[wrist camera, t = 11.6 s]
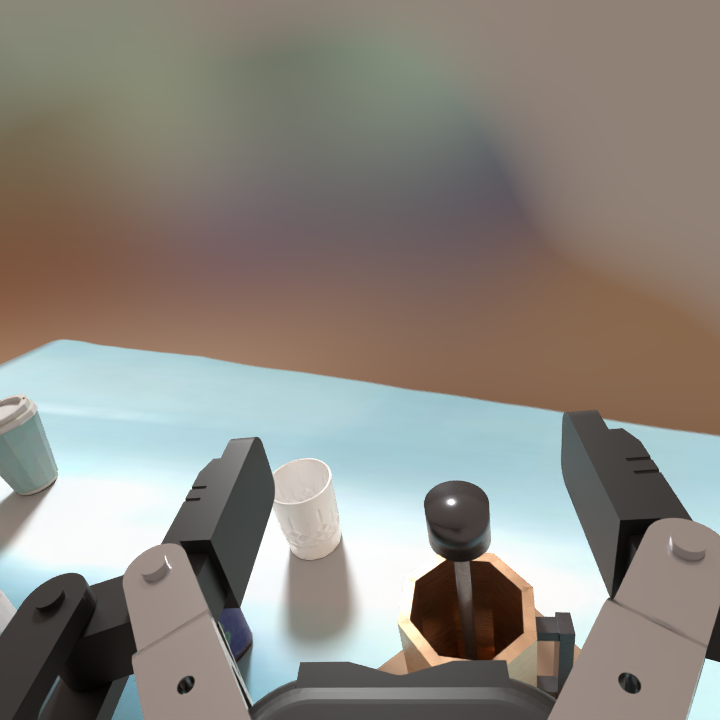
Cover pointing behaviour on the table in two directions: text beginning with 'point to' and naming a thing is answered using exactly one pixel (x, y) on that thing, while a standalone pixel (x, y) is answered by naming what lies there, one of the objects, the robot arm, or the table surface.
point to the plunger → (460, 541)
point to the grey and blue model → (236, 631)
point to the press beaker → (482, 621)
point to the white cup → (307, 508)
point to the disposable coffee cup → (24, 447)
